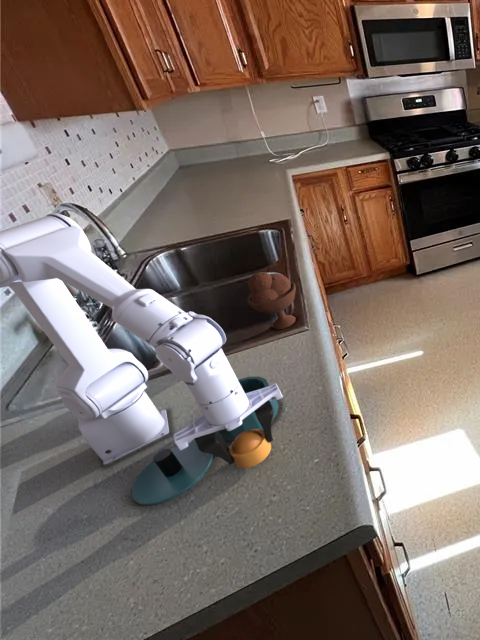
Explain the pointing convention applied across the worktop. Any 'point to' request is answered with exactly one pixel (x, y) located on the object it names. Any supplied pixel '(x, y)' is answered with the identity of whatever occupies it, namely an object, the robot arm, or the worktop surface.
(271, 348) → the worktop surface
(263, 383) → the pot
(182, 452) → the lid
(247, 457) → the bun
